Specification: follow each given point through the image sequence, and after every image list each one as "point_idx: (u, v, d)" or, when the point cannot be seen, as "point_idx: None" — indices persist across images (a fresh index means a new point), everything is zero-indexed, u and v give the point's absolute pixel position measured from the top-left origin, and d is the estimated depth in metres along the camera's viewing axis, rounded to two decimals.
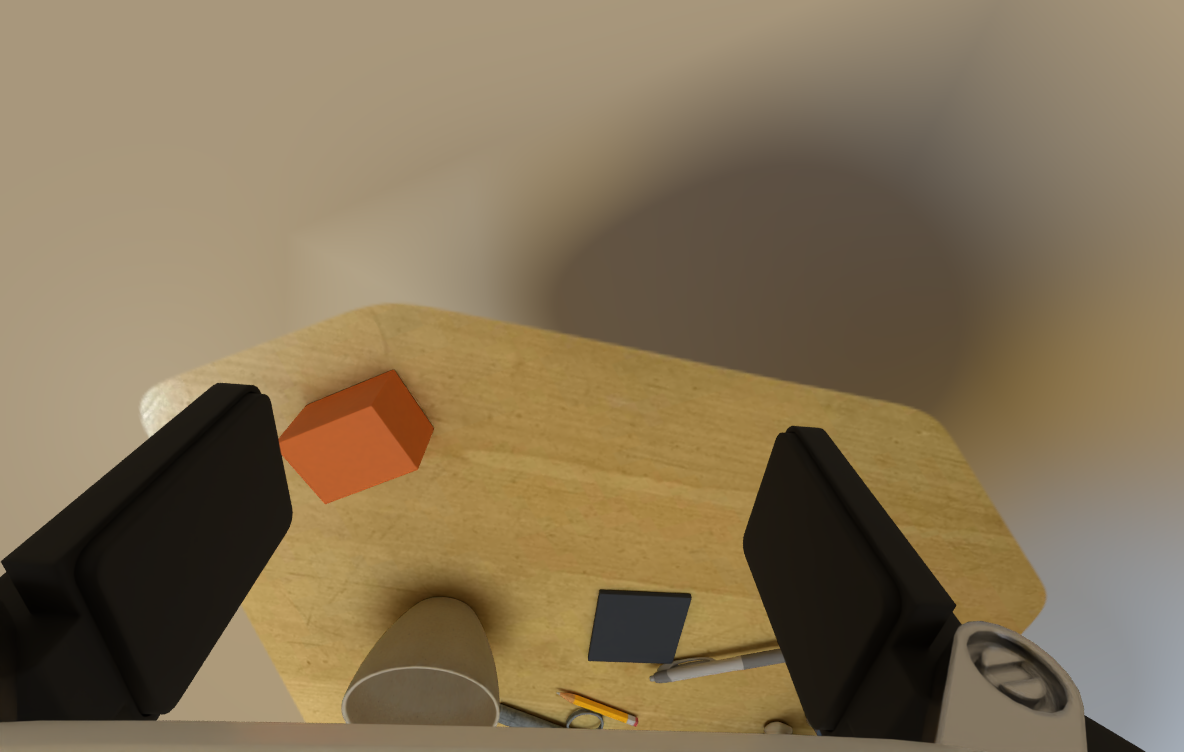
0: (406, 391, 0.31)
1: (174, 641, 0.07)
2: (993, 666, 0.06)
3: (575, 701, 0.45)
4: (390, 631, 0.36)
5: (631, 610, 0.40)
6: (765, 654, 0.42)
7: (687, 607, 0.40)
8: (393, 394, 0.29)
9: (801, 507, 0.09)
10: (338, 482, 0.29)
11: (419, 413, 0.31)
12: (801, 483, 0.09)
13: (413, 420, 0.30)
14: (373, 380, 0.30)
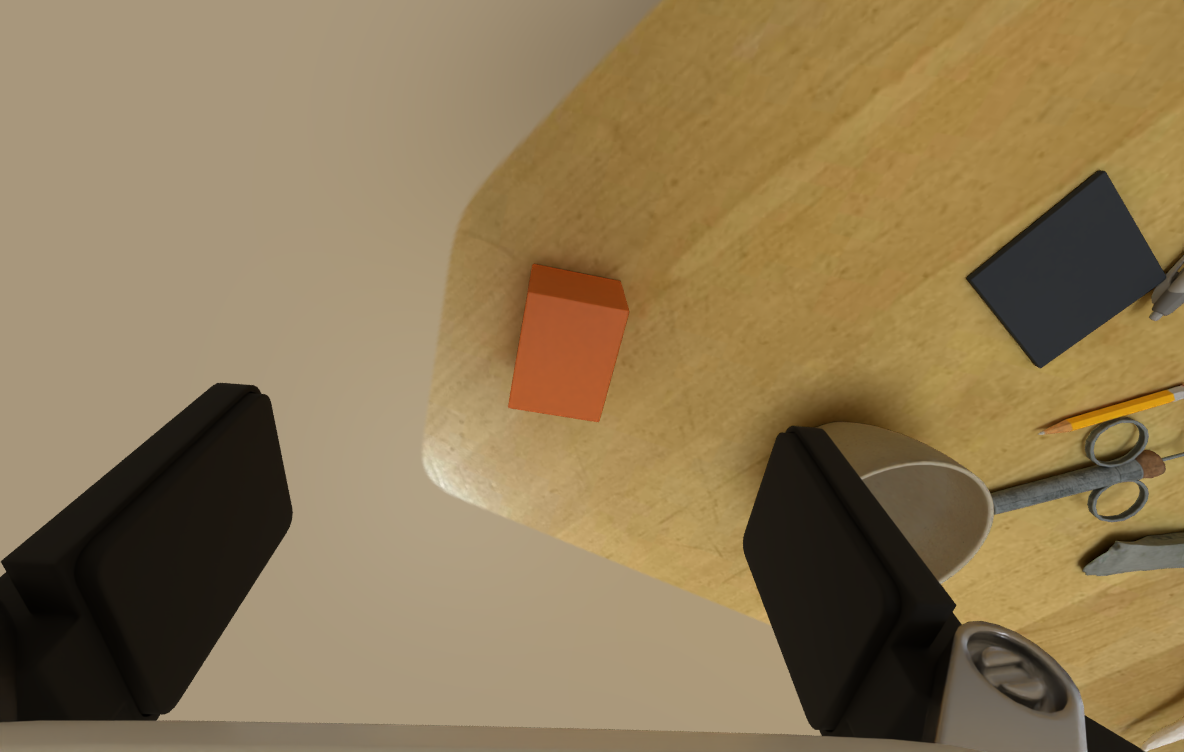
0: (561, 270, 0.26)
1: (173, 642, 0.07)
2: (993, 666, 0.06)
3: (1074, 425, 0.32)
4: None
5: (1034, 263, 0.27)
6: None
7: (1112, 188, 0.25)
8: (548, 277, 0.25)
9: (801, 507, 0.09)
10: (585, 391, 0.25)
11: (592, 277, 0.26)
12: (801, 483, 0.09)
13: (588, 284, 0.25)
14: None
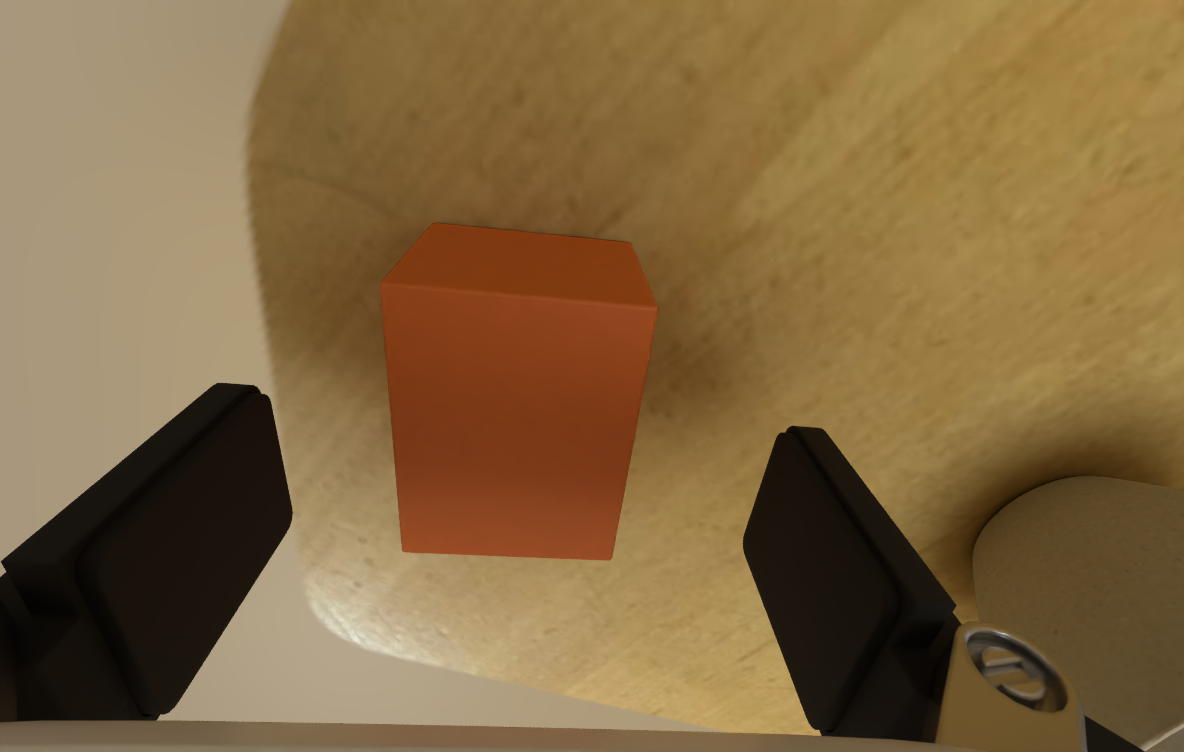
0: (497, 231, 0.12)
1: (173, 642, 0.07)
2: (993, 666, 0.06)
3: None
4: None
5: None
6: None
7: None
8: (456, 245, 0.10)
9: (801, 506, 0.09)
10: (572, 502, 0.11)
11: (566, 240, 0.12)
12: (801, 483, 0.09)
13: (555, 253, 0.11)
14: None
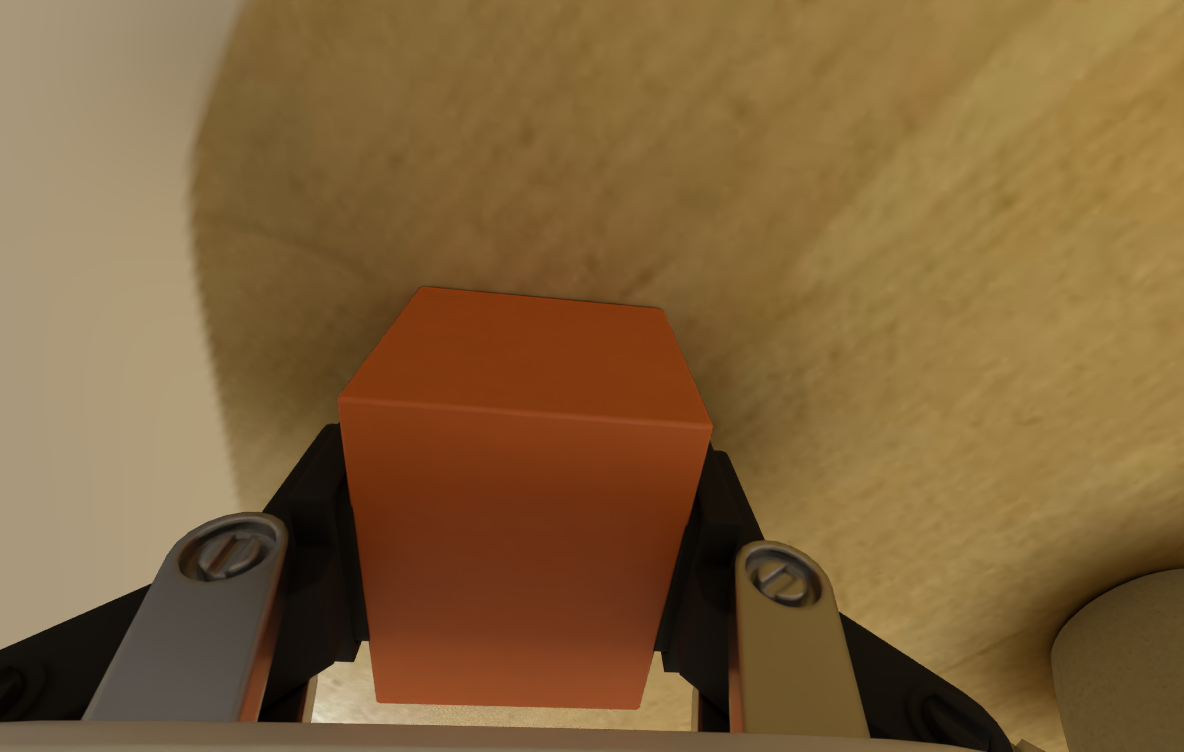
0: (499, 297, 0.09)
1: None
2: (767, 575, 0.07)
3: None
4: None
5: None
6: None
7: None
8: (446, 324, 0.08)
9: None
10: (592, 649, 0.08)
11: (584, 308, 0.09)
12: None
13: (572, 332, 0.09)
14: None
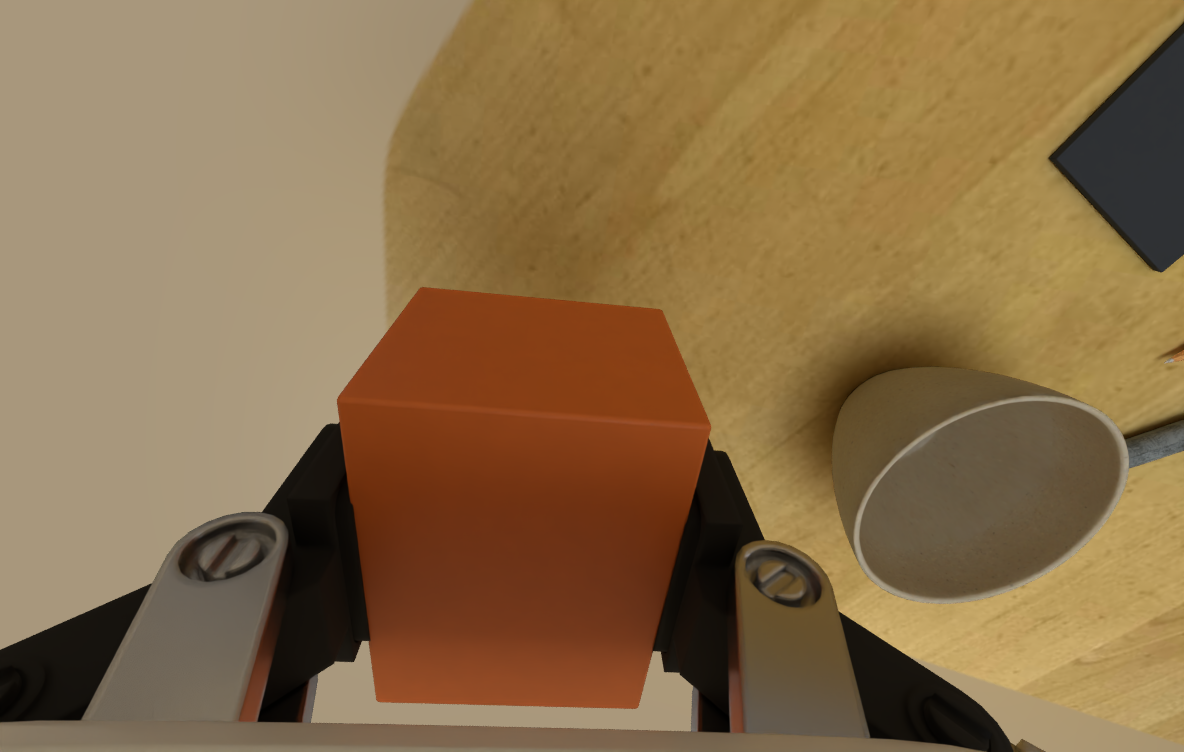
0: (498, 298, 0.10)
1: None
2: (767, 575, 0.07)
3: None
4: (833, 466, 0.23)
5: (1143, 124, 0.20)
6: None
7: None
8: (445, 325, 0.08)
9: None
10: (590, 648, 0.08)
11: (583, 309, 0.10)
12: None
13: (571, 332, 0.09)
14: None
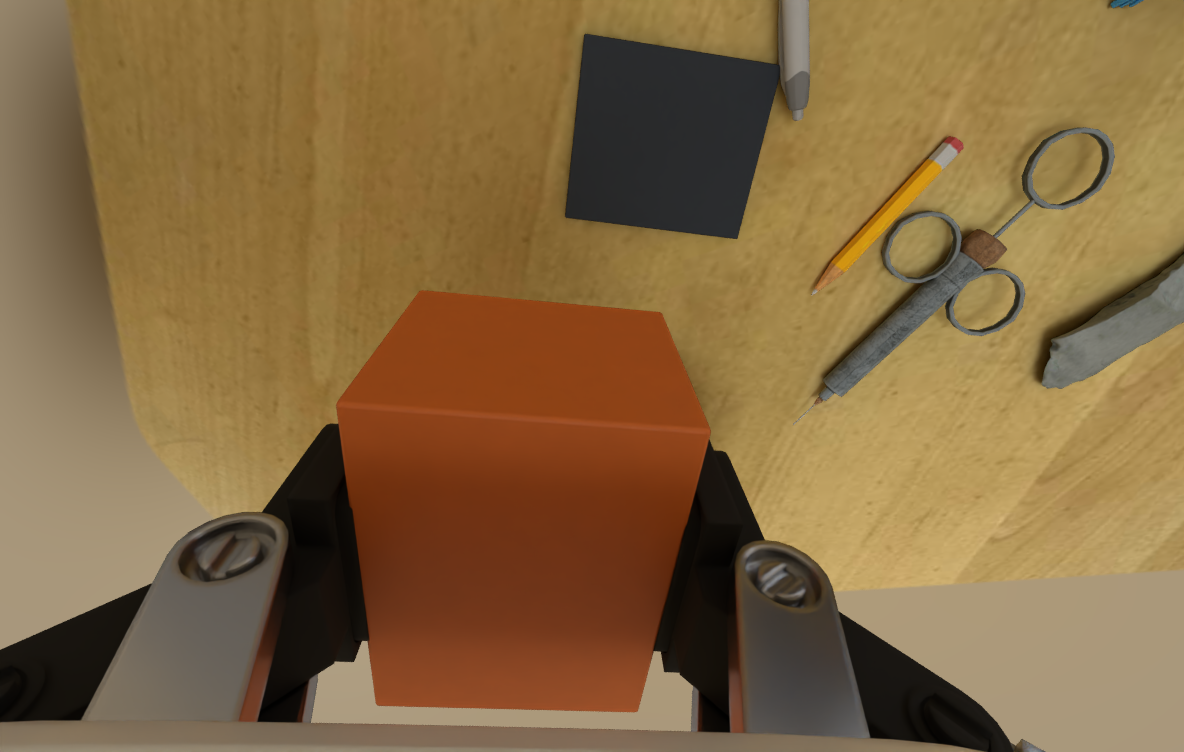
0: (498, 301, 0.10)
1: None
2: (767, 575, 0.07)
3: (840, 264, 0.25)
4: None
5: (610, 159, 0.23)
6: None
7: (611, 41, 0.21)
8: (445, 328, 0.08)
9: None
10: (590, 653, 0.08)
11: (583, 312, 0.10)
12: None
13: (571, 336, 0.09)
14: None
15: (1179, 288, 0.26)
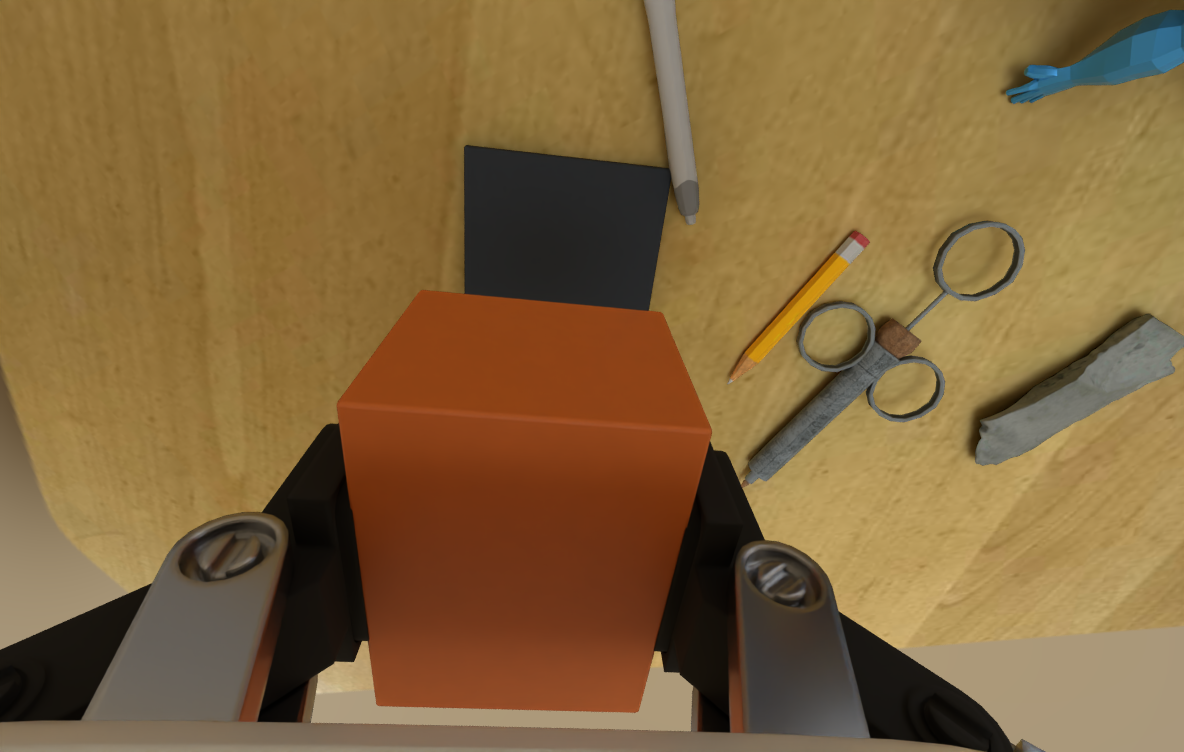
0: (498, 301, 0.09)
1: None
2: (767, 575, 0.07)
3: (753, 356, 0.24)
4: None
5: (505, 263, 0.22)
6: None
7: (492, 152, 0.20)
8: (446, 328, 0.08)
9: None
10: (591, 653, 0.08)
11: (584, 312, 0.09)
12: None
13: (572, 335, 0.09)
14: None
15: (1108, 370, 0.25)
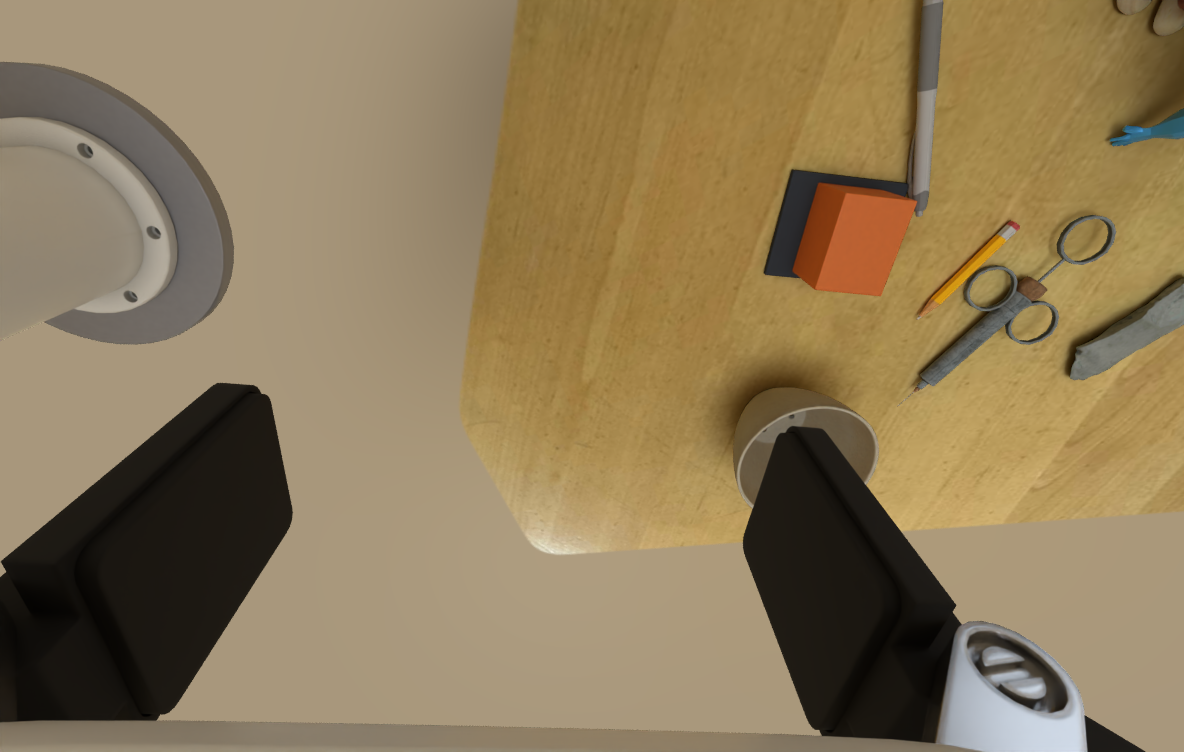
0: (841, 185, 0.35)
1: (174, 642, 0.07)
2: (993, 666, 0.06)
3: (937, 300, 0.39)
4: None
5: (798, 240, 0.36)
6: (920, 54, 0.31)
7: (808, 174, 0.34)
8: (841, 187, 0.33)
9: (801, 507, 0.09)
10: (875, 270, 0.33)
11: (864, 188, 0.35)
12: (801, 483, 0.09)
13: (869, 190, 0.34)
14: (815, 202, 0.35)
15: (1161, 312, 0.40)
